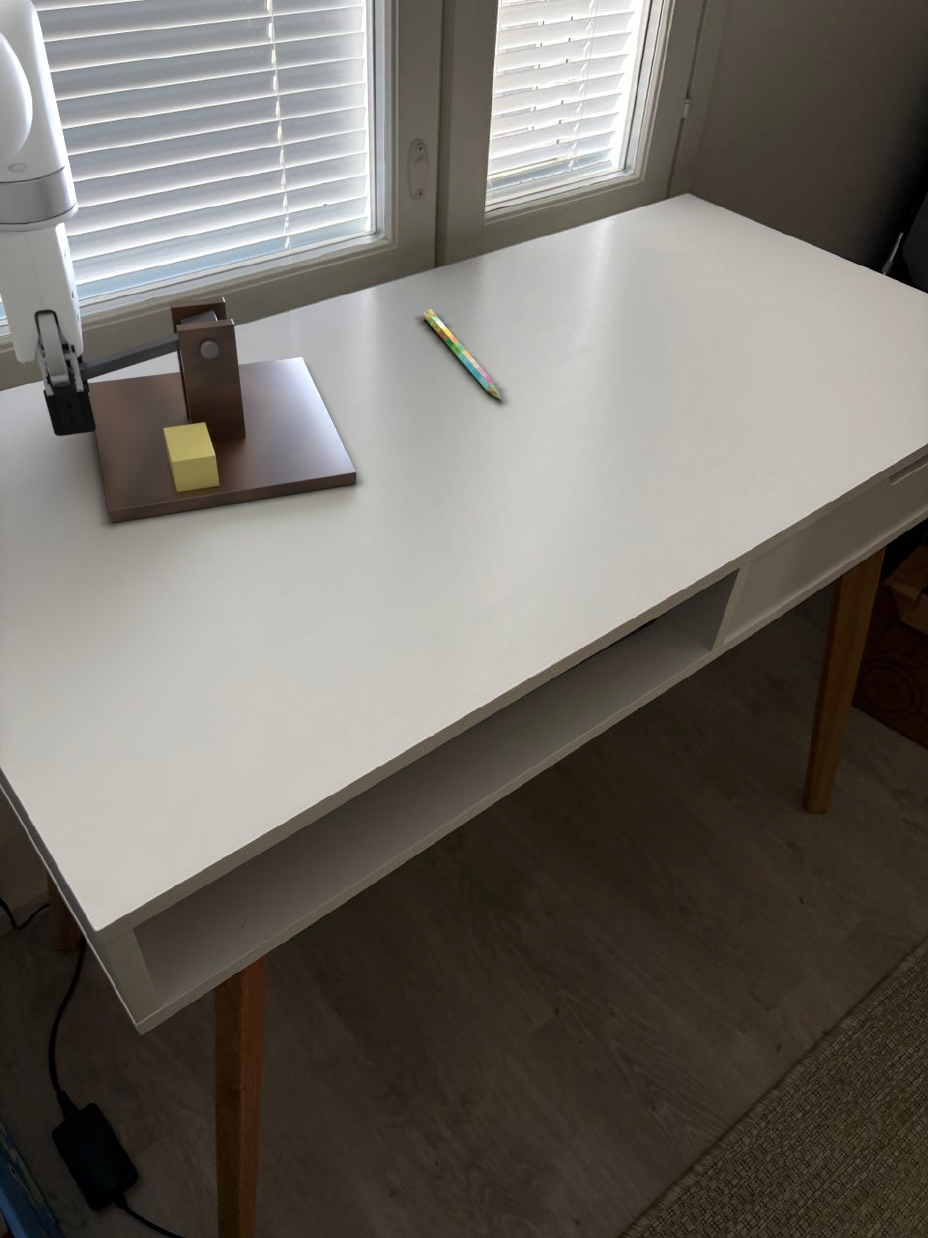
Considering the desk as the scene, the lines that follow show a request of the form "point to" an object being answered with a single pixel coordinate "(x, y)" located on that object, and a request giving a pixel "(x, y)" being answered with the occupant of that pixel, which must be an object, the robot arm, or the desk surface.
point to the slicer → (215, 425)
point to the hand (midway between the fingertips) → (72, 410)
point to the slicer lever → (138, 352)
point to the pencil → (461, 353)
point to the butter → (191, 457)
